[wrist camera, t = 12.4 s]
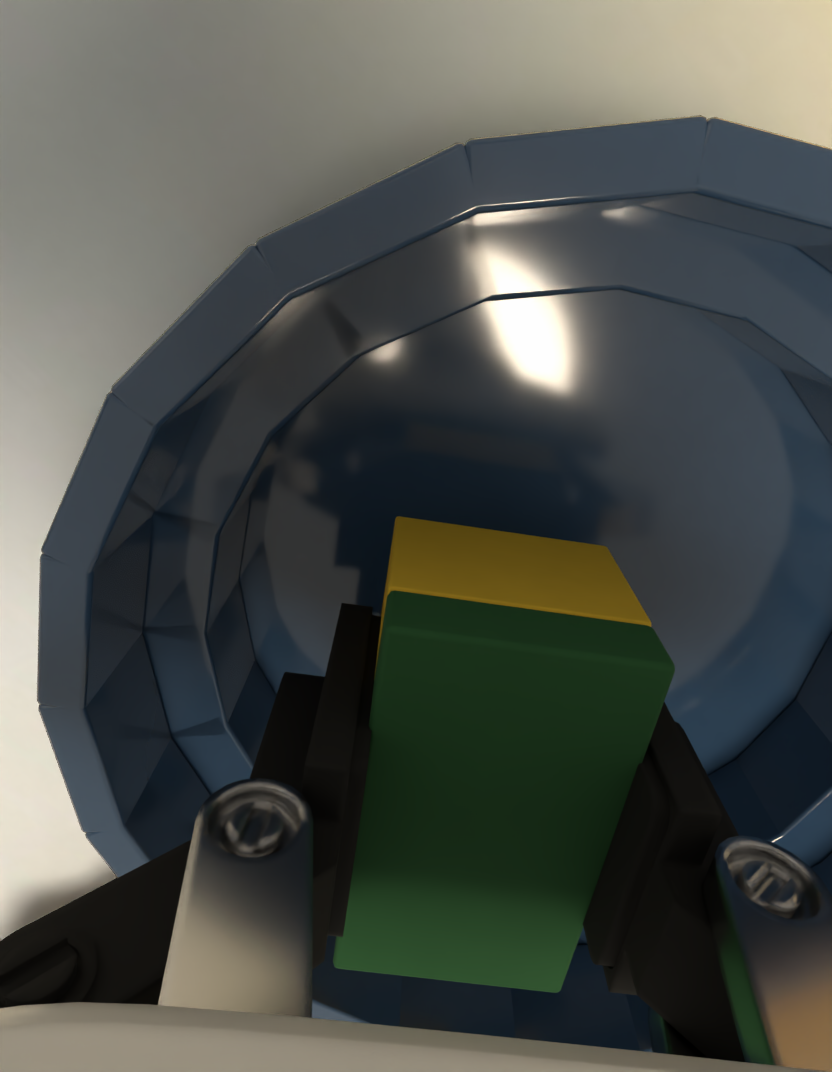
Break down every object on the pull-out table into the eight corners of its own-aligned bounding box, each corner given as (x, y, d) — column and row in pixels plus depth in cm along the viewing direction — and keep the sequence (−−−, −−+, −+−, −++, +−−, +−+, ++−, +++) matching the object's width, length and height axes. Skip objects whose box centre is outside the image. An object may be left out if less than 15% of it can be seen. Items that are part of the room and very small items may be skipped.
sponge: (395, 514, 11) (384, 626, 8) (607, 545, 11) (679, 667, 8) (353, 796, 14) (331, 970, 10) (529, 818, 14) (561, 996, 10)
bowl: (209, 64, 11) (49, -69, 6) (1087, 297, 12) (1496, 327, 7) (139, 793, 17) (28, 999, 12) (733, 907, 18) (837, 1137, 13)
